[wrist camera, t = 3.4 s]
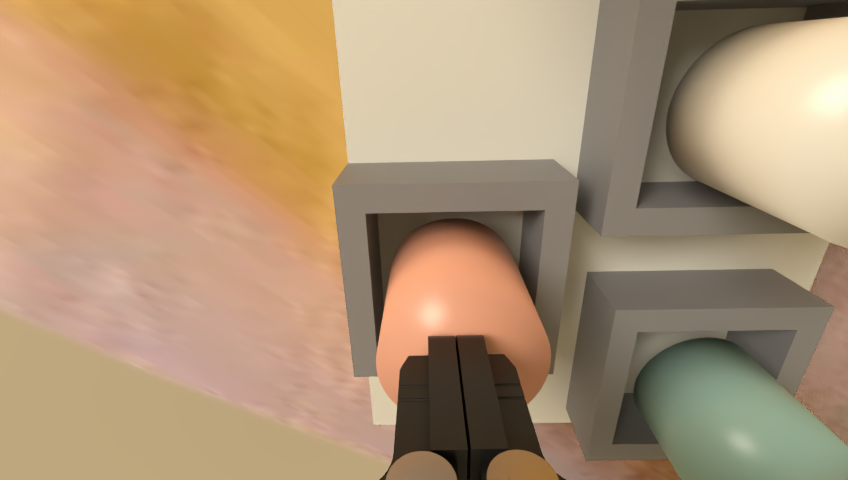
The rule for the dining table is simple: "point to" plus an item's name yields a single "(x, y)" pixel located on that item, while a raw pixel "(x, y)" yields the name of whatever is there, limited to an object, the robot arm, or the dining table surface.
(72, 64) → the dining table surface
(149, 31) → the dining table surface
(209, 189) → the dining table surface
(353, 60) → the console
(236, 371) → the dining table surface
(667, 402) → the mint green button
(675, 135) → the ivory button
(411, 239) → the coral button
